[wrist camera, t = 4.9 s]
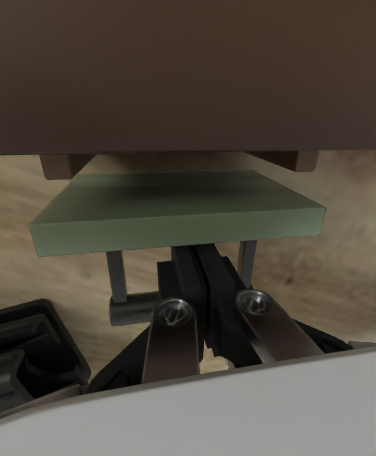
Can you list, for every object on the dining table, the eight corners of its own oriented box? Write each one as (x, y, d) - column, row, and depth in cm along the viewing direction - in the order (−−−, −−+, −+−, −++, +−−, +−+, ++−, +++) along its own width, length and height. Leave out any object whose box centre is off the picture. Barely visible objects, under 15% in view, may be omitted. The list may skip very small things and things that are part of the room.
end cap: (-60, 318, 17) (-171, 434, 11) (44, 291, 17) (-6, 386, 11) (14, 399, 21) (-35, 512, 15) (95, 375, 22) (78, 476, 16)
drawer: (242, 253, 18) (295, 325, 12) (94, 266, 16) (67, 358, 10) (295, -170, 10) (558, -647, 4) (2, -234, 8) (-434, -1341, 2)
